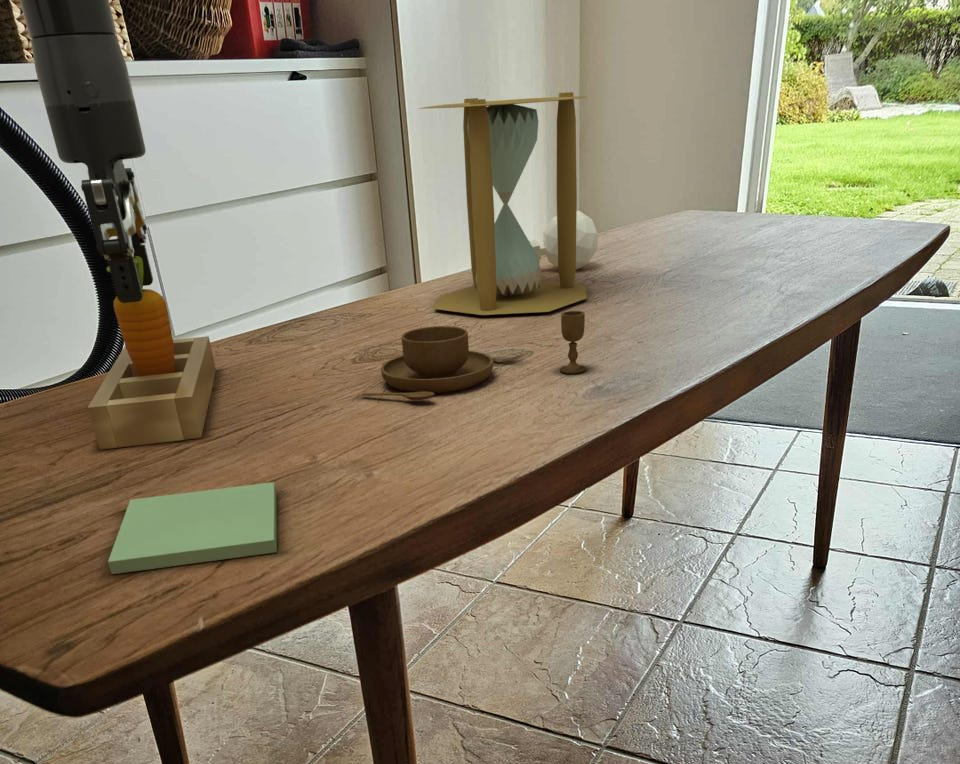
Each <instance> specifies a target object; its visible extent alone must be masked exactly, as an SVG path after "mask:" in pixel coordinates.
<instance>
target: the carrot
mask: <svg viewBox="0 0 960 764" xmlns="http://www.w3.org/2000/svg"><path fill="white" fill-rule="evenodd" d="M134 260H135V264H136V268H137V272H138V277H139V281H140V285H141V289H142V293H143V298H142V299H141V300H140V301H138V302H129V303H122V302H120V301H119V300H118V298H117V296H116V297H115V298H114V300H113V310H114V314H115V317H116V320H117V325H118V327H119V331H120V334H121V337H122V339H123V343H124V347H125V346H126V349H127V351H128V354H129V356H130V358H131V361H132V363H133V365H134V367H135V369H136V371H137V373H138V375H139V377H140V376H150V375H159V374H169V373H175V358H174V343H173V340H174V339H173V338H174V337H173V333H172V326H171V322H170V317H169V312H168V307H167V302H166V300H165V298H164V296H163V295H162V294H160V293H159V292H157V291H155V290H153V289H150V288H149V289H148V288H144V286H143V274H144V271H143V262H142V258H140V257H139V256H135V259H134ZM106 271H107V273H109V274H111V271H110V267H109V266H107V267H106Z"/></svg>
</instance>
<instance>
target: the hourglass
mask: <svg viewBox="0 0 960 764" xmlns="http://www.w3.org/2000/svg"><path fill="white" fill-rule="evenodd" d="M586 98H588V97H587V96H583V95H582V96H575V95H574V92H573V91H568V92H559V93H558V96H556V97H555V96H553V97H531V98H516V99H514V98H513V99H503V100H502V99H500V100H487V101H486V98H482V99H481V98H480V99H479V98H478V97H474V98H464V99H463V102H462V103H461V102H459V103H449V104H447V103H446V104H438V105H431V106H424V107H420V108H417V109H418V110H421V109H423V110H424V109H453V108H463V123H462V128H463V129H462V130H463V150H464V169H465V170H464V171H465V172H464V173H465V191H466V193H465V194H466V209H467V211H466V212H467V224H468V237H469V239H468V240H469V251H470V266H471V274H472V281H473V285H471V286H467V287H464V288H461V289H458V290H454V291H451V292H447V293H443V294H441V295H439V297H438V299H437V301H436V303H435V305H434V307H433V310H440V311H445V312H446V311H448V312H453V313H454V312H455V313H462V314H471V315H472V314H473V315H477V316H478V315H479V316H491V315H492V316H493V315H509V314H529V313H530V314H531V313H547V312H548V313H550V312H552V311H555V310H557V309H561V308H563V307H566V306H569V305H572V304H574V303H578V302H580V301H584V300H586V299H588V295H587V290H586V285H585V284H576V283H575V280H576V272H577V270H576V214H577V211H578V210H577V206H578V205H577V204H578V202H577V201H578V197H577V196H578V195H577V194H578V192H577V190H578V189H577V188H578V187H577V185H578V184H577V117H576V108H575V100H577V99H586ZM557 101H558V102H557ZM545 102H557V114H556V216H557V236H558V267H557V268H558V279H559V282H553V281H542V271H541V266H540V260H539V259H538V257H537V255H536V253H535V251H534V249H533V247H532V246H531V244H530V242H529V241H530V240H529V239H528V237H527V235H526V233H525V232H524V230H523V228H522V226H521V225H520V223H519V221H518V219H517V218H516V216H515V214H514V213H513V211H512V209H511V208H510V205H509V201H510V200H511V198H512V196H513V194H514V191H515V189H516V187H517V185H518V182H519V181H520V178H521V176H522V174H523V172H524V170H525V167H526V166H527V164H528V161H529V160H530V157H531V155H532V152H533V151H534V149H535V146H536V143H537V141H538V132H539V117H538V111H537V110H538V109H536V108H532V107H528V106H524V105H522V104H532V103H533V104H534V103H535V104H536V103H545ZM519 104H521V105H519ZM494 190H495V192H496V194H497V195H498V197H499V200H500V201H501V202H502V207H501V209H500V211H499V213H498V215H497V217H496V220H495V203H494V202H495V201H494Z"/></svg>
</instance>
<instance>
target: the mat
mask: <svg viewBox="0 0 960 764" xmlns="http://www.w3.org/2000/svg"><path fill="white" fill-rule="evenodd" d="M277 507H278V506H277V489H276V483H275V482H274V481H271V482H270V481H269V482H262V483H255V484H247V485H240V486H239V485H238V486H230V487H223V488H214V489H206V490H197V491H189V492H181V493H173V494H166V495H157V496H150V497H141V498H133V499H130V500H129V502H128V505H127V507H126V510H125V513H124V516H123V518H122V521H121V524H120V527H119V530H118V532H117V535H116V538H115V541H114V544H113V546H112V549H111V552H110V555H109V558H108V561H107V563H108V567H109V570H110V574H111V575H118V574H125V573H133V572H140V571H141V572H142V571H147V570H156V569H164V568H169V567H170V568H171V567H177V566H187V565H192V564H199V563H200V564H201V563H208V562H216V561H224V560H230V559H237V558H245V557H252V556H260V555H268V554H275V553H277V550H278V548H277V547H278V545H277V543H278V541H277V539H278V537H277V536H278V535H277V534H278V532H277V525H278V522H277V521H278V519H277V513H278V512H277V509H278V508H277Z"/></svg>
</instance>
